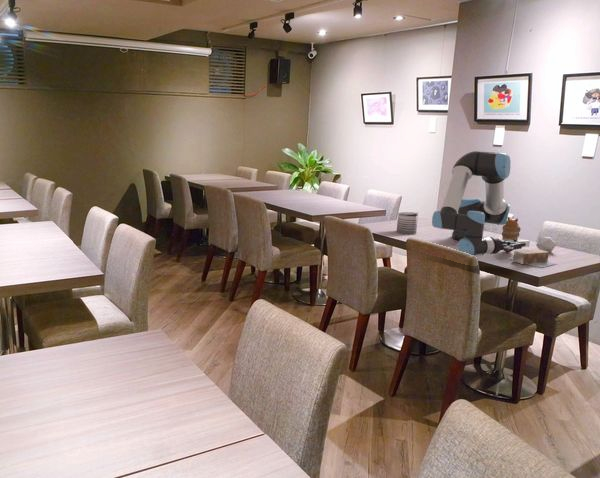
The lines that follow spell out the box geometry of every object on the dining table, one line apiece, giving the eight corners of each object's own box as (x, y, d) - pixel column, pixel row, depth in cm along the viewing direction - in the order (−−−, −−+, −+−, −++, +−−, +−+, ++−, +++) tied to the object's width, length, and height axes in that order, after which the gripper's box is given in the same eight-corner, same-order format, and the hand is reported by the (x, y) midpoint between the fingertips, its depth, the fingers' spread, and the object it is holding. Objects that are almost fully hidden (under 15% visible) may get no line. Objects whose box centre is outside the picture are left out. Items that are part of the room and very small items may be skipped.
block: (524, 253, 235) (548, 252, 242) (514, 250, 240) (538, 249, 247) (522, 264, 236) (547, 262, 243) (512, 261, 242) (537, 259, 248)
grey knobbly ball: (552, 256, 261) (561, 240, 262) (538, 246, 261) (547, 231, 262) (544, 257, 269) (553, 242, 270) (530, 248, 269) (539, 233, 271)
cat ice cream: (519, 253, 260) (524, 218, 256) (512, 255, 255) (517, 219, 251) (502, 249, 266) (507, 215, 262) (495, 251, 261) (500, 216, 257)
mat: (505, 258, 246) (505, 258, 246) (520, 255, 255) (520, 254, 255) (541, 268, 233) (542, 267, 233) (556, 264, 241) (556, 263, 241)
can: (407, 235, 289) (409, 214, 286) (392, 231, 297) (394, 211, 295) (420, 233, 296) (422, 213, 293) (404, 230, 305) (406, 210, 302)
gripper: (477, 250, 236) (516, 247, 245) (498, 257, 224) (538, 254, 234) (479, 234, 234) (518, 232, 244) (501, 240, 223) (540, 238, 232)
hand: (528, 243), depth 239 cm, fingers closed
